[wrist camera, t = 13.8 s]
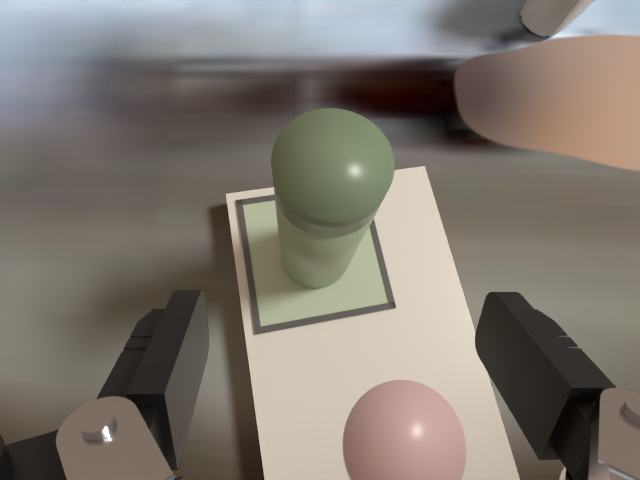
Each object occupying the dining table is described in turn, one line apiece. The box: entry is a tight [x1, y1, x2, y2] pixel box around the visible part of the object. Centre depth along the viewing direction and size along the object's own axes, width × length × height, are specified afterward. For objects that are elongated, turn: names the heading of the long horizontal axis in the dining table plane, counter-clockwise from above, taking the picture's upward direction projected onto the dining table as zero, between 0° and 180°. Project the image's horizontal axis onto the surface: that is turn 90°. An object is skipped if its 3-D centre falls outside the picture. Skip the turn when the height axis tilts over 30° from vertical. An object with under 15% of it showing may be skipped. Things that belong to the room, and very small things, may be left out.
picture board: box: [226, 166, 520, 480], centre depth 25 cm, size 14×22×2 cm, turn 11°
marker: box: [271, 108, 395, 289], centre depth 20 cm, size 4×4×12 cm
